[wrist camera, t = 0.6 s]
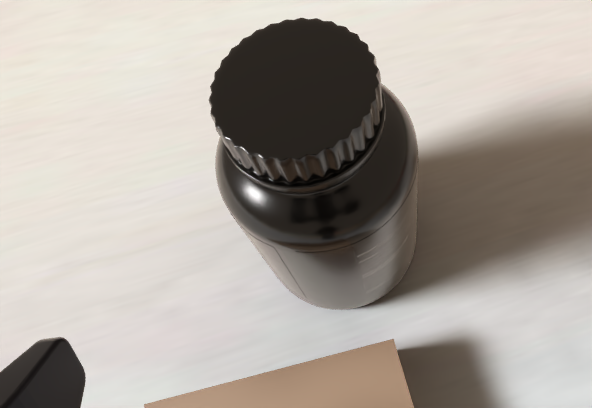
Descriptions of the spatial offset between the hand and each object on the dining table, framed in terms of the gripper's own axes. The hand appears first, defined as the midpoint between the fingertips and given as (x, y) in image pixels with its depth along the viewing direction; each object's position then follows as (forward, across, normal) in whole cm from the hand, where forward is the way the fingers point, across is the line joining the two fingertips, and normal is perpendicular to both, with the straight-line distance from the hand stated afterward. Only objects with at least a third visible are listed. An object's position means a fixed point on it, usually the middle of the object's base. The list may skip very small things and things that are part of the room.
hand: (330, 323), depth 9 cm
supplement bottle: (+14, 0, +9) cm, 17 cm away
